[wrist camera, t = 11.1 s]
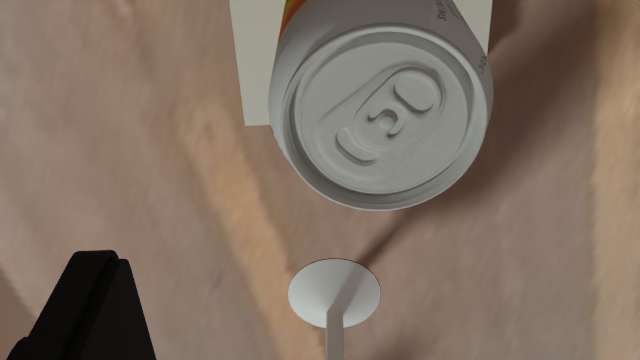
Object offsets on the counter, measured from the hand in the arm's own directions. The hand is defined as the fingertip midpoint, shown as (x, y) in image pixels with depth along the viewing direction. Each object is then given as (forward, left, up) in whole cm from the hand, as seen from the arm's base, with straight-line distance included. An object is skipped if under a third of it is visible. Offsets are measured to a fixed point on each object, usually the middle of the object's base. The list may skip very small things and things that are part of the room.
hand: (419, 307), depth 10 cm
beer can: (0, 0, -22) cm, 22 cm away
